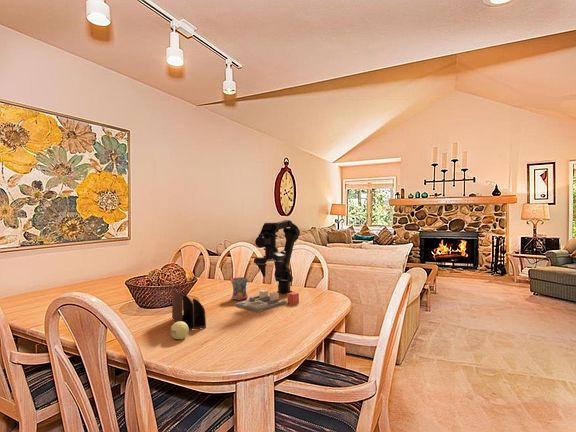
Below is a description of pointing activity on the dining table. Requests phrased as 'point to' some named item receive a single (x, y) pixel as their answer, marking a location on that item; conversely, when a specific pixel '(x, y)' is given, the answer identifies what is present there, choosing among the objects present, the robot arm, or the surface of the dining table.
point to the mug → (239, 288)
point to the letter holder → (188, 311)
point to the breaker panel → (260, 303)
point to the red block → (293, 298)
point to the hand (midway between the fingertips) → (270, 275)
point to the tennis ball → (179, 330)
